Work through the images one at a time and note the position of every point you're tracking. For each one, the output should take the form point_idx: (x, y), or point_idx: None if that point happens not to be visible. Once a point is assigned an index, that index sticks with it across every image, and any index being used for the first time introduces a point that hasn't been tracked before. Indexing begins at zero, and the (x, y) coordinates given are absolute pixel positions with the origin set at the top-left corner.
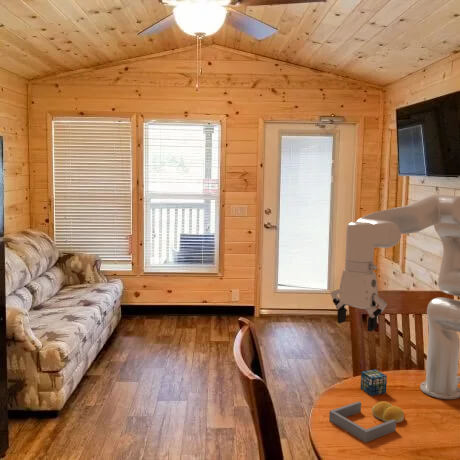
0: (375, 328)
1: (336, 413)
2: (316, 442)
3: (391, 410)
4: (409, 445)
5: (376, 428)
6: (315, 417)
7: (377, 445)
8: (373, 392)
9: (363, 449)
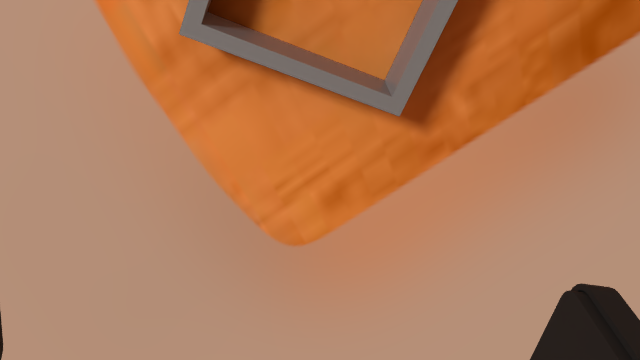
0: (612, 292)
1: (219, 39)
2: (237, 203)
3: None
4: (554, 10)
5: (428, 57)
6: (120, 31)
7: (437, 89)
8: None
9: (398, 147)
